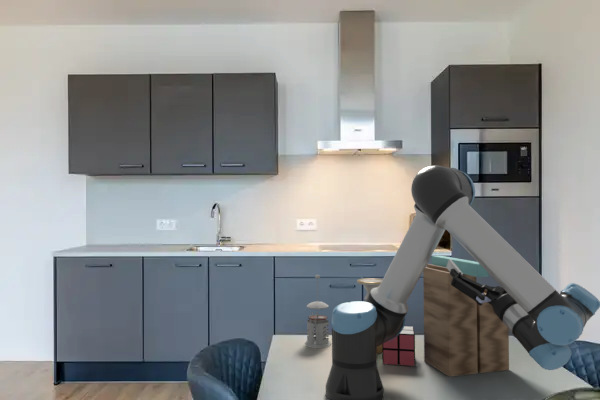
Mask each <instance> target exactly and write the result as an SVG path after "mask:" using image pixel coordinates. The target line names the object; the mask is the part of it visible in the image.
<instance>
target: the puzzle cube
mask: <svg viewBox="0 0 600 400" xmlns="http://www.w3.org/2000/svg"><path fill="white" fill-rule="evenodd" d="M382 348H383V349H382V353H381V354H382V355H381V357H382V364H383V365H385V366H386V365H387V366H388V365H389V366H391V365H392V366H402V367H415V366H416V332H415V328H414V326H407V325H405V326H404V328H403V330H402V331H401V333H400V334H399V335H398V336H396V338H394V339H392V340H390V341H387V342H385V343H383V344H382Z"/></svg>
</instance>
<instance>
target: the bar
mask: <svg viewBox="0 0 600 400" xmlns="http://www.w3.org/2000/svg"><path fill="white" fill-rule="evenodd" d="M449 260H452V261H453V262H454V263H455V265H456V266H457V267H458V268H459V269H460V271H461V272H462V273H463V274H466V275H471V276H475V277H476V278H485V277H487V278H488V277H490V274H489V273H488V272H487V271H486V270H485V269H484V268H483V267H482V266H481V265H480V264H479V263H478V262H477V261H476V260H475V261H473V260H469V259H462V258H457V257H451V256H445V255H432V256H431V264H432V265H437V266H442V267H446V266H447V263H448V261H449Z"/></svg>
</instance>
